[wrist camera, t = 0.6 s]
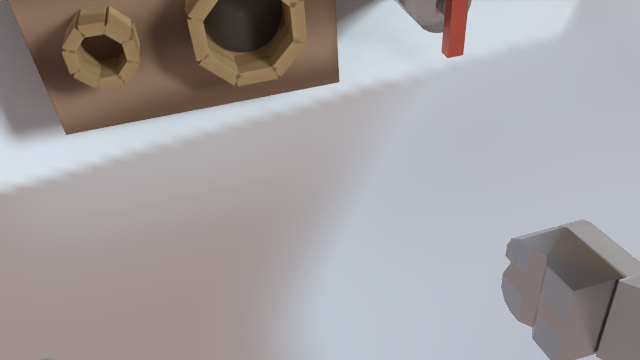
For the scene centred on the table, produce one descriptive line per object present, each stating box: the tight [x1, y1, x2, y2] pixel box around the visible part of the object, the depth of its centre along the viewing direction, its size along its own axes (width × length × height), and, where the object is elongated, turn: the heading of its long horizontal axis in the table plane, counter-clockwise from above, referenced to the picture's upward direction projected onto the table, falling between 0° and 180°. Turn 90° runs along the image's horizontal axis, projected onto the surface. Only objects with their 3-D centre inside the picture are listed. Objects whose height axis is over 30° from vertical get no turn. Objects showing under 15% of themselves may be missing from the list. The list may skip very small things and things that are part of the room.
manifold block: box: [8, 0, 339, 135], centre depth 41 cm, size 14×22×9 cm, turn 94°
